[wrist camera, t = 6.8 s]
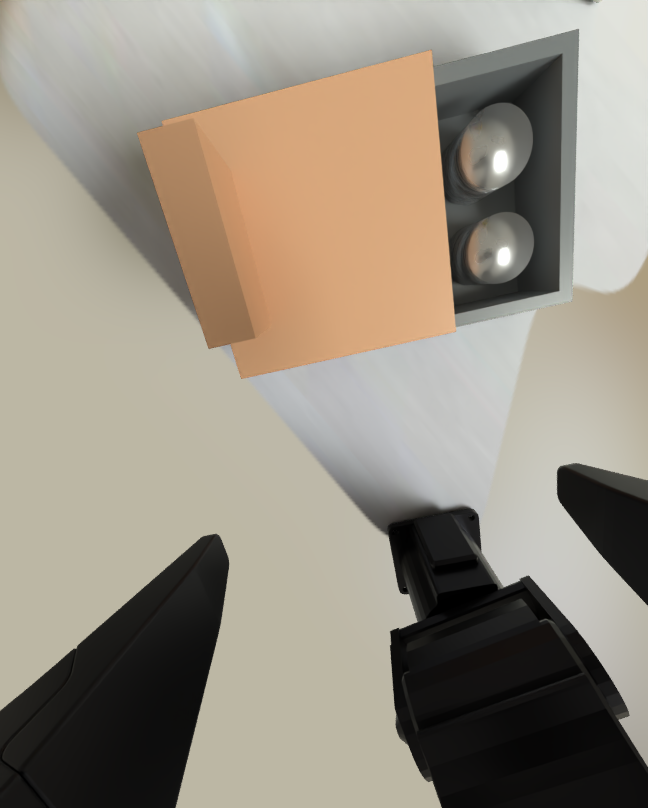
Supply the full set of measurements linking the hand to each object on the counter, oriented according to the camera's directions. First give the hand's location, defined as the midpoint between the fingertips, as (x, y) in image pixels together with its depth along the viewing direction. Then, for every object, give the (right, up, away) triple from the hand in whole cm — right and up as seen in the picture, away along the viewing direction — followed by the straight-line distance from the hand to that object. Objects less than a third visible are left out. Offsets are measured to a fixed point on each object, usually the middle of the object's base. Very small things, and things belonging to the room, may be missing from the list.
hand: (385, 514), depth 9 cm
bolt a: (+6, +11, +9) cm, 16 cm away
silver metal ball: (+6, +15, +8) cm, 18 cm away
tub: (+4, +13, +9) cm, 16 cm away
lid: (-2, +10, +6) cm, 12 cm away
